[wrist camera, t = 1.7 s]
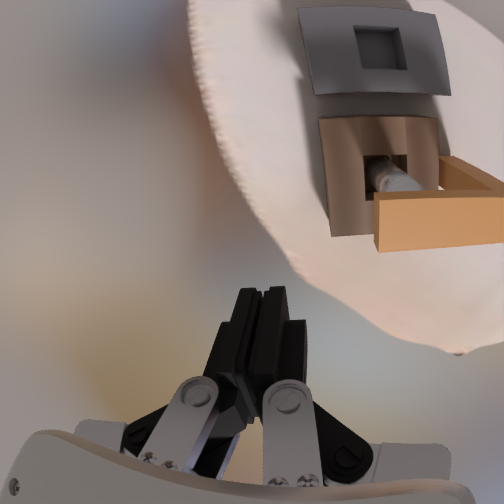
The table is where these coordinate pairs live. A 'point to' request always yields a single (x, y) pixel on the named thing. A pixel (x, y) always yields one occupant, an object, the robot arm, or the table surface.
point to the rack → (373, 50)
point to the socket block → (361, 151)
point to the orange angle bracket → (442, 211)
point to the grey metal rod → (389, 176)
